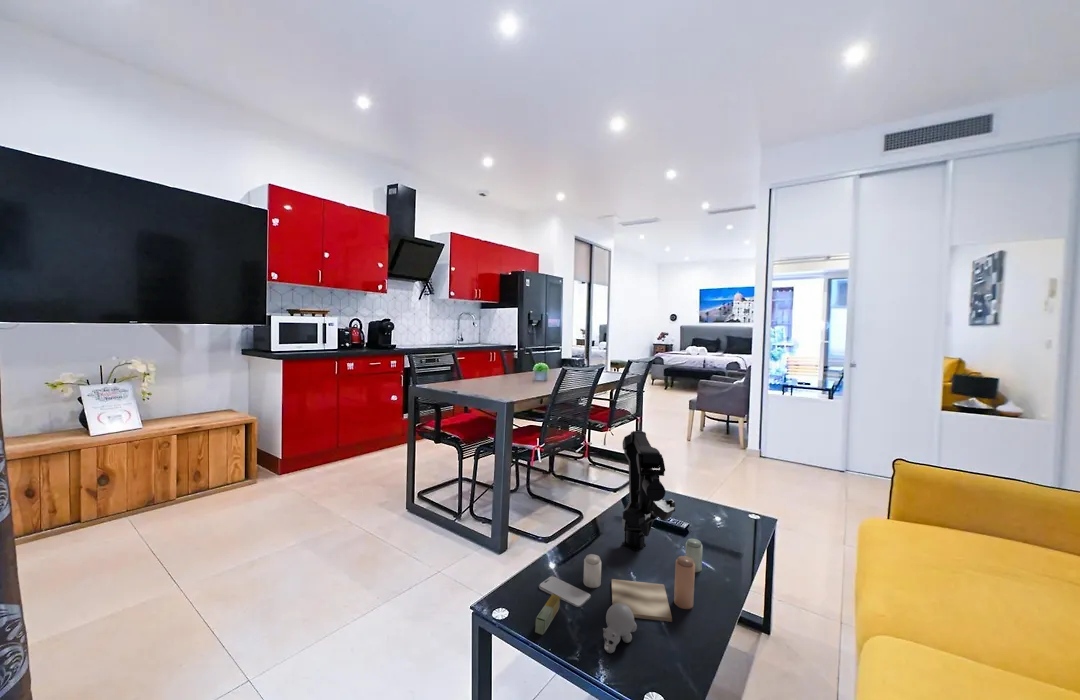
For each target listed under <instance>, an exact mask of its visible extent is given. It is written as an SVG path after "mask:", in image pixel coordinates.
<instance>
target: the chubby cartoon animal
mask: <svg viewBox="0 0 1080 700" xmlns="http://www.w3.org/2000/svg"><path fill="white" fill-rule="evenodd" d="M605 622H606V626H607V627H603V628H602V630H603V639H604V650H605V652H607V653H608V654H612V653H613V654H614V653H615V651H616V647H617V646H618V644H619V643H620V641H621V639H622V641H623V642H624V643H625V644H626V643H627V644H628V643H631V642H632V641H633V635H632V633H634V632H636V631H637V629H638V625H637V623H636V621H635V618H634V615H633V613H632V611H631V610H630V608H629V607H628V606H627V605H624V604H622V603H616V604H613V605H611V606H609V608H608V609H607V611H606V615H605Z"/></svg>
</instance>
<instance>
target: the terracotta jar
mask: <svg viewBox="0 0 1080 700" xmlns="http://www.w3.org/2000/svg"><path fill="white" fill-rule="evenodd" d="M674 566H675V567H674V569H675V570H674V591H673V593H674V594H673V603H674V604H675V605H676V606H677V607H678V608H679V609H682V610H683V609H684V610H691V609H693V607H694V599H695V598H694V597H695V576H696V572H695V563H694V562H693V560H692V559H691V558H689V557H687V556H685V555H680V556H678V557H677V558H676V559H675V565H674Z"/></svg>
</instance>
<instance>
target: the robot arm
mask: <svg viewBox="0 0 1080 700" xmlns="http://www.w3.org/2000/svg"><path fill="white" fill-rule="evenodd" d="M622 450H623V451H624V452H623V455H625V458H626V459H627V461H628V492H629V493H628V495H629V496H628V497H629V499H628V500H629V501H628V504H627V505H626V507H625V509H624V511H622V519H621V526H622V529H623V532H624V541H622V542H621V545H622V546H624V547H626V548H629V549H631V550H633V551H635V552H636V551H639V550H641V549H642V548H645V547H646V546H647V544H646V543H645V538H646V537H649V535H650V533H651V529H652V528H653V524H654V522H655V520H657V519H658V518H659V519H660V520H661V521H667V520H668V519H671V517H672V514H673V513H674V512H676V502H675V501H674V499H672V498H670V499H668V500H667V499H664V497H665V496H666V488H665V486H664V484H662V483H663V482H661V480H660V476H661V477H664V476H665V472H666V468H665V467H666V466H665V461H664V457H663V455H662V454H661V453H660V451H659V449H657V448H656V447H653V446H652V444H650V441H649V440H648V437H647V433H646V432H645V431H643V430H640V431H639V430H633V431H631V432H630V433H629V434H628V435H626V436H624V438H623V440H622Z"/></svg>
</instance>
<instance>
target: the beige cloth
mask: <svg viewBox="0 0 1080 700" xmlns="http://www.w3.org/2000/svg"><path fill="white" fill-rule="evenodd" d="M611 600H612V601H611V603H612V605H613V604H616V603H622V604H624V605H627V606H628V607H629V608H630V610H631V611H632V613H633V615H634V619H635V618H636V619H645V620H652V621H653V620H654V621H660V622H661V621H662V622H670V623H672V622H673V616H672V612H671V608H670V604H669V600H668V595H667V590H666V587H665V584H662V583H654V582H653V583H652V582H646V581H645V582H644V581H635V580H634V581H632V580H624V579H616V578H615V579H614V578H611ZM612 605H611V606H612Z"/></svg>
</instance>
